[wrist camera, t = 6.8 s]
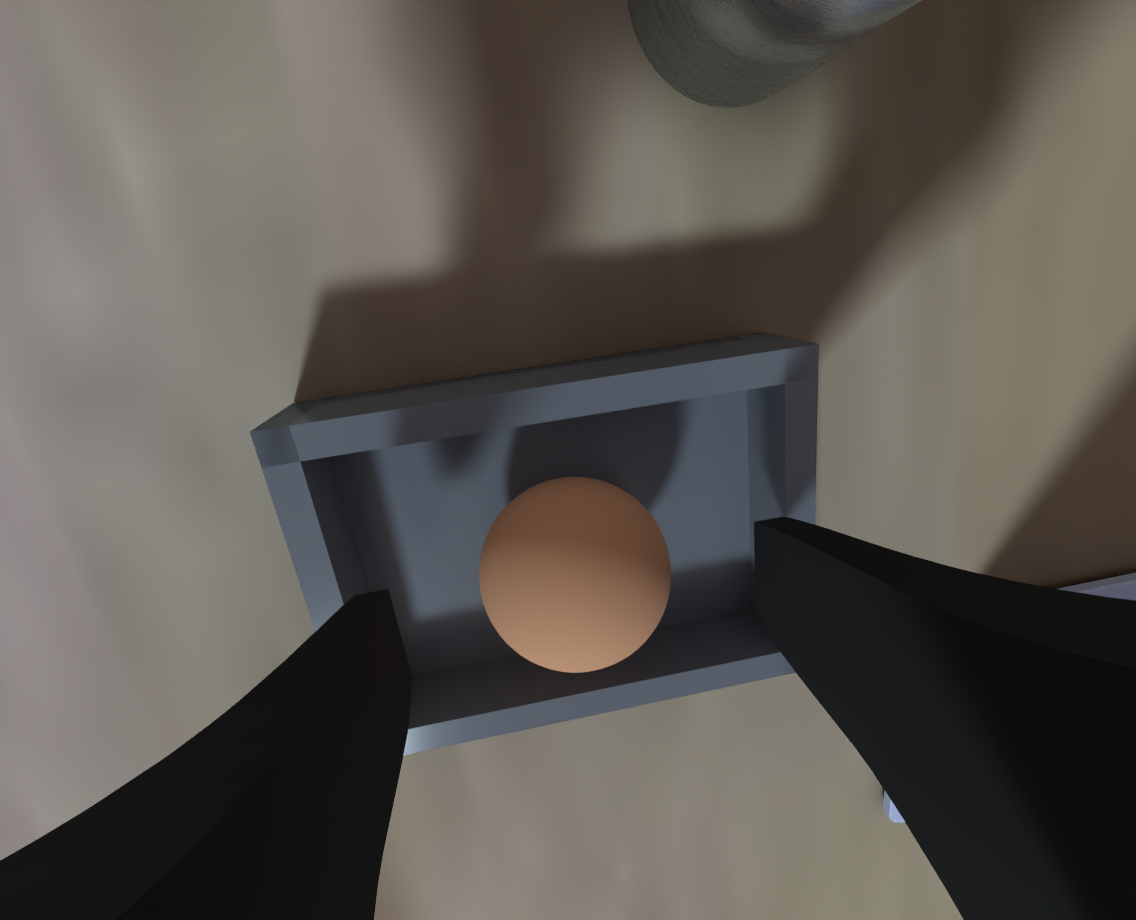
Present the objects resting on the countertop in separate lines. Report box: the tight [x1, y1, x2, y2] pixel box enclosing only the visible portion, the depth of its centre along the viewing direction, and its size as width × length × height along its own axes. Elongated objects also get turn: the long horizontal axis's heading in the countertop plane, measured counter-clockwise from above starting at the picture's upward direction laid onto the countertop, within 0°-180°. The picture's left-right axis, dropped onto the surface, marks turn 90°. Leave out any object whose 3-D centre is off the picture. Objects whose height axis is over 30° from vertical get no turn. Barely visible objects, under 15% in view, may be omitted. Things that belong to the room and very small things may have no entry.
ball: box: [479, 477, 671, 673], centre depth 12 cm, size 4×4×4 cm
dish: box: [250, 333, 819, 755], centre depth 13 cm, size 11×8×2 cm
